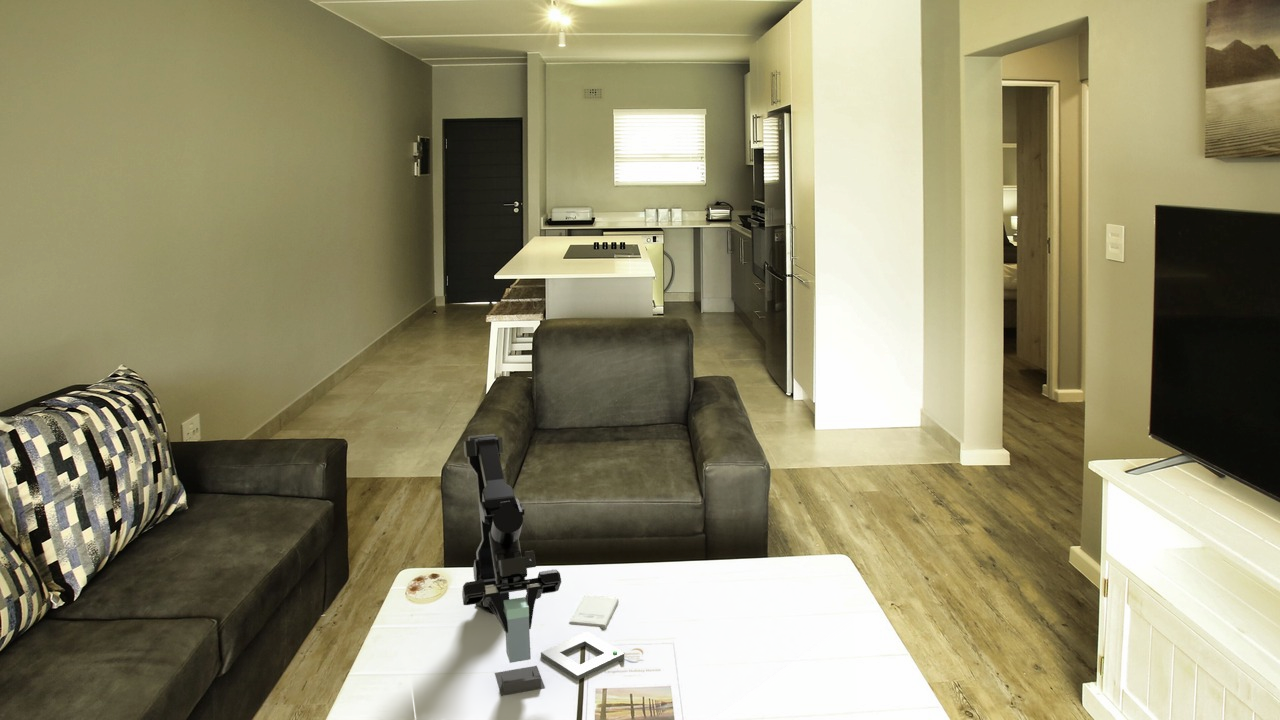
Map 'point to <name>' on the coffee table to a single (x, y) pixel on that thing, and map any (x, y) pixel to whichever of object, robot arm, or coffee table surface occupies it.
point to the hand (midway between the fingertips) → (518, 630)
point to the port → (580, 671)
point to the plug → (517, 629)
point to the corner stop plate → (519, 680)
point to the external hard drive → (594, 611)
